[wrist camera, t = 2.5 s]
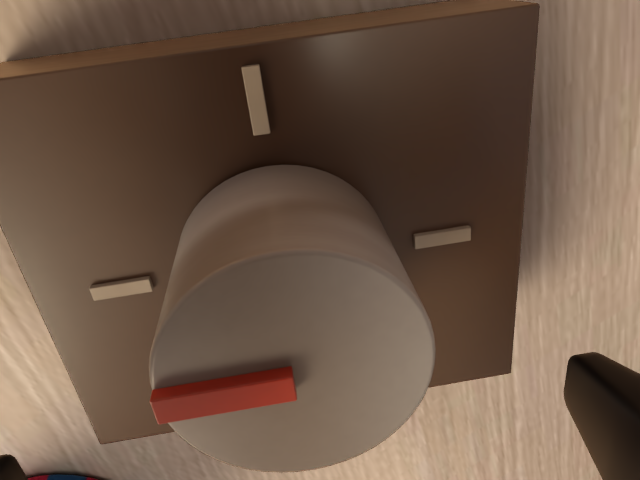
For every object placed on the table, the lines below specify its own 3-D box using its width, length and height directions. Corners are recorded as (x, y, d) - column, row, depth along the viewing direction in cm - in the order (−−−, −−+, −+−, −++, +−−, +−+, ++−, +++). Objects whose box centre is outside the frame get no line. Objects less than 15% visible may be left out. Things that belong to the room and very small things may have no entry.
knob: (379, 147, 11) (442, 235, 8) (391, 326, 14) (443, 462, 10) (153, 181, 11) (102, 290, 7) (204, 358, 14) (185, 508, 10)
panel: (483, -5, 13) (544, 3, 10) (473, 313, 18) (514, 377, 15) (1, 61, 13) (-69, 89, 10) (123, 372, 17) (98, 450, 15)
